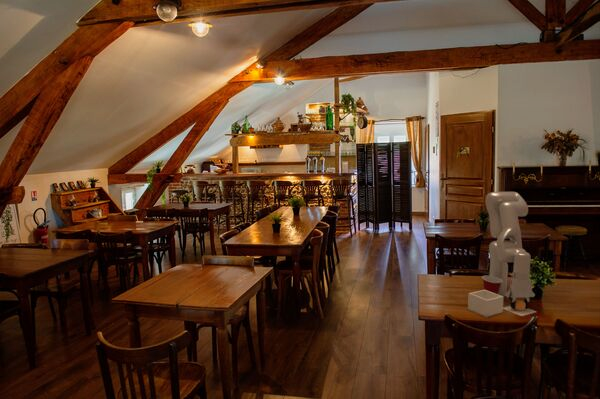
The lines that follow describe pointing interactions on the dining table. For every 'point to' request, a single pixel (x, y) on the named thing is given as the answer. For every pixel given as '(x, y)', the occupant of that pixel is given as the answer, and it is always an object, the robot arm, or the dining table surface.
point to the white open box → (485, 303)
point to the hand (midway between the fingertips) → (519, 308)
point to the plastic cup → (492, 283)
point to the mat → (519, 311)
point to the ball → (519, 304)
